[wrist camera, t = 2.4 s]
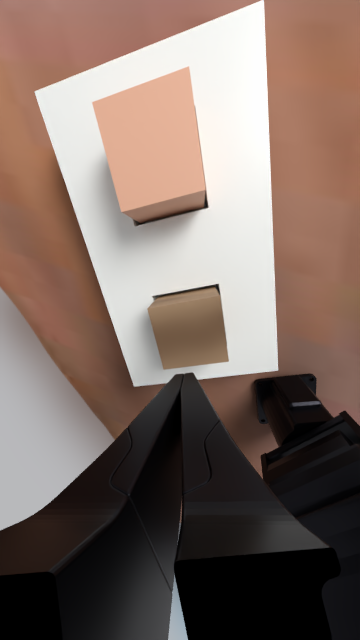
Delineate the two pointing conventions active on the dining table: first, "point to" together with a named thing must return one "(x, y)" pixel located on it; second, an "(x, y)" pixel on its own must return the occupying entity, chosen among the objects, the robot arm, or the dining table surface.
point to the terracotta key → (153, 147)
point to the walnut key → (189, 328)
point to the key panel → (189, 227)
